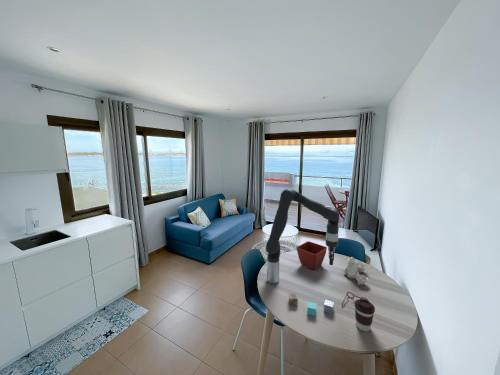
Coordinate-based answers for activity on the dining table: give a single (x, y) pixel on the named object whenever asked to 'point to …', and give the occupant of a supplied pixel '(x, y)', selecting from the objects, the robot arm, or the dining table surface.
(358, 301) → the coffee cup
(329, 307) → the slate gray block
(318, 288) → the dining table surface
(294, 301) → the walnut block
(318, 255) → the plant pot
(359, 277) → the chinaware
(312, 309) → the teal block
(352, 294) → the glasses
